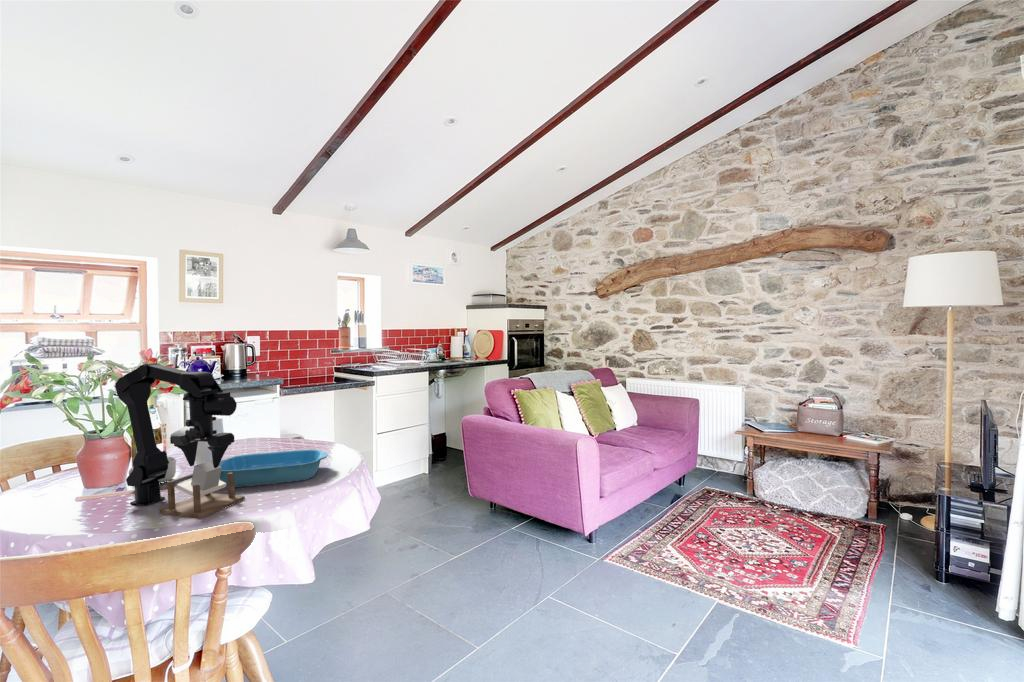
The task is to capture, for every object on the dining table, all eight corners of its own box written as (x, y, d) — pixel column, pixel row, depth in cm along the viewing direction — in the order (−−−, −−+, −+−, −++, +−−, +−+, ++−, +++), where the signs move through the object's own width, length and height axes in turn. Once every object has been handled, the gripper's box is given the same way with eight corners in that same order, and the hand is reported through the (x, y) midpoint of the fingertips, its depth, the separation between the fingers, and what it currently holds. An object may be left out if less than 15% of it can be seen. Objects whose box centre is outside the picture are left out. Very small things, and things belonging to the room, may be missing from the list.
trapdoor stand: (159, 513, 144) (157, 482, 144) (204, 495, 159) (203, 467, 158) (202, 518, 140) (200, 486, 139) (244, 499, 154) (243, 470, 154)
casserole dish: (330, 463, 192) (329, 445, 192) (326, 481, 171) (325, 460, 170) (223, 474, 182) (222, 455, 181) (204, 494, 160) (203, 472, 160)
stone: (190, 484, 147) (194, 465, 146) (205, 479, 152) (209, 461, 151) (203, 490, 146) (207, 471, 145) (218, 485, 150) (221, 466, 150)
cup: (188, 480, 176) (185, 419, 175) (221, 473, 183) (219, 414, 182) (196, 486, 168) (192, 423, 167) (230, 479, 175) (227, 418, 174)
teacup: (171, 475, 181) (170, 454, 181) (182, 481, 174) (180, 458, 174) (124, 486, 170) (122, 463, 170) (133, 492, 164) (132, 468, 163)
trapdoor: (176, 488, 145) (176, 484, 145) (206, 477, 155) (206, 474, 155) (196, 498, 143) (197, 494, 143) (225, 486, 153) (226, 483, 153)
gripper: (151, 419, 143) (154, 473, 143) (201, 421, 137) (204, 477, 138) (186, 412, 153) (189, 462, 154) (234, 413, 148) (237, 465, 149)
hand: (203, 466), depth 148 cm, fingers open, 9 cm apart
